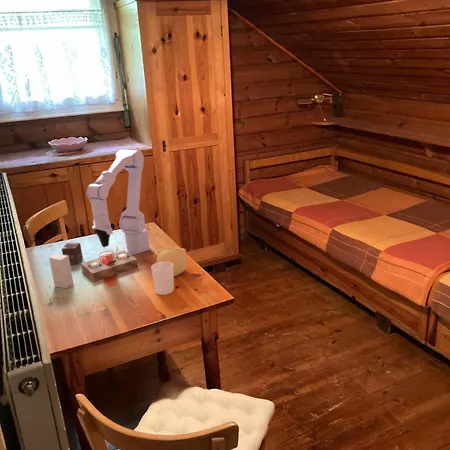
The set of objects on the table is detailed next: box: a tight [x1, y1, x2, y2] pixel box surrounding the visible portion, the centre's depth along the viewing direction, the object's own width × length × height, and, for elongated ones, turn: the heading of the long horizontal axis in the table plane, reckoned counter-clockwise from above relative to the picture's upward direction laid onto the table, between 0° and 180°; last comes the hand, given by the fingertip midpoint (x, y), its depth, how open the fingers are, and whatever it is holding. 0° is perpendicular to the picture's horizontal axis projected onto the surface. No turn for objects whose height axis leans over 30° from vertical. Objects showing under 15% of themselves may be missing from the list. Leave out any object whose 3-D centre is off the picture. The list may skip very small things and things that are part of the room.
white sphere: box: [90, 262, 100, 269], centre depth 197 cm, size 4×4×4 cm
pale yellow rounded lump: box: [156, 245, 188, 277], centre depth 194 cm, size 12×12×11 cm
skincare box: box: [49, 253, 74, 289], centre depth 188 cm, size 6×4×12 cm
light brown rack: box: [80, 250, 139, 282], centre depth 201 cm, size 19×12×4 cm, turn 127°
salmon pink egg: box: [105, 252, 114, 264], centre depth 200 cm, size 4×4×4 cm
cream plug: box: [118, 254, 127, 260], centre depth 204 cm, size 4×4×4 cm
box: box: [61, 242, 83, 265], centre depth 209 cm, size 6×6×7 cm
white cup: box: [150, 261, 175, 296], centre depth 180 cm, size 8×8×10 cm
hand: (105, 246), depth 197 cm, fingers closed
